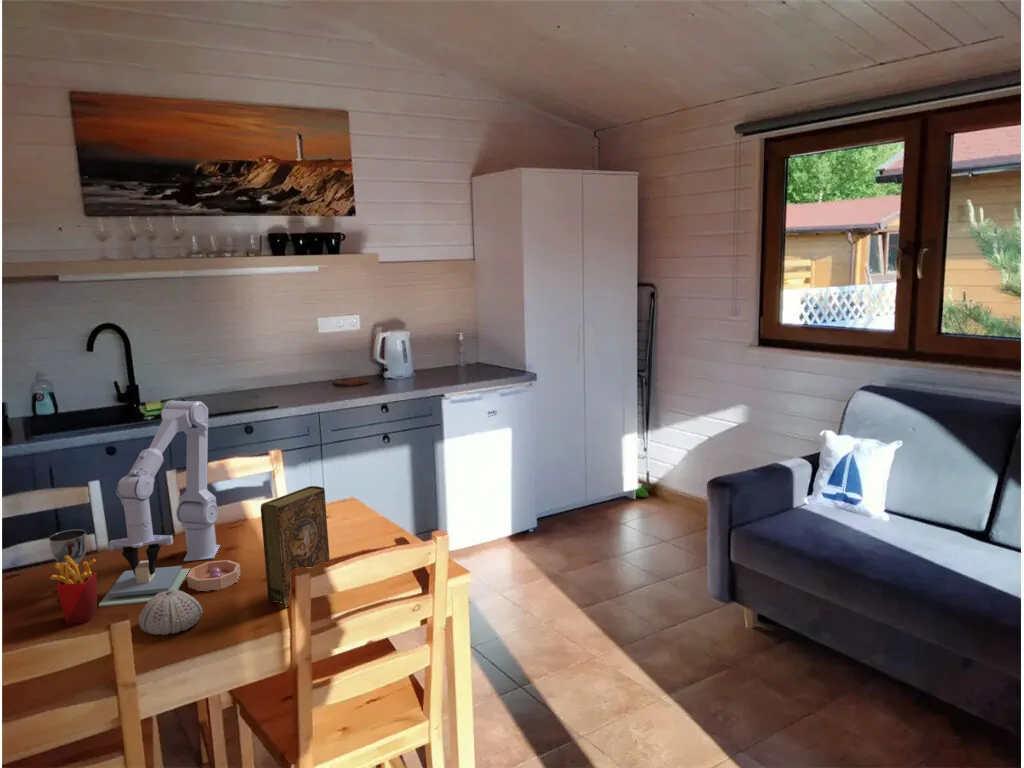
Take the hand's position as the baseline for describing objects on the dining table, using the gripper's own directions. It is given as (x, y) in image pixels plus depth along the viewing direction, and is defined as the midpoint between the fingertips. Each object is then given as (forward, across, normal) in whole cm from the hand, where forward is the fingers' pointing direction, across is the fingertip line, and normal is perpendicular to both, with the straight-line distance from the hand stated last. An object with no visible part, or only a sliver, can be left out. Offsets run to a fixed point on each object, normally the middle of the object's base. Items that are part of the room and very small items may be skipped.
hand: (145, 573), depth 196 cm
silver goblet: (+4, -18, +2) cm, 18 cm away
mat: (+4, 0, 0) cm, 4 cm away
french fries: (+4, -12, -15) cm, 19 cm away
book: (+4, +40, -13) cm, 42 cm away
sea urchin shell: (+4, +12, -23) cm, 26 cm away
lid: (+2, 0, 0) cm, 3 cm away
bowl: (+4, +16, 0) cm, 17 cm away
